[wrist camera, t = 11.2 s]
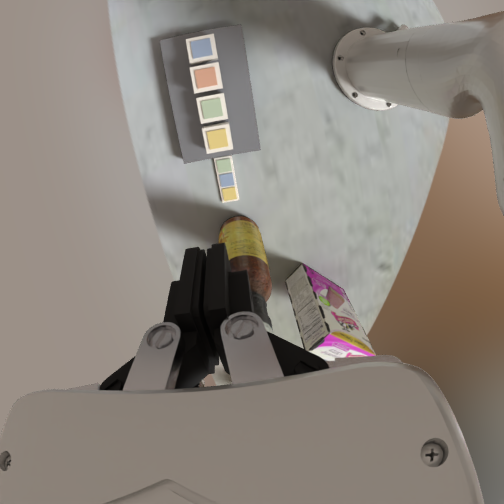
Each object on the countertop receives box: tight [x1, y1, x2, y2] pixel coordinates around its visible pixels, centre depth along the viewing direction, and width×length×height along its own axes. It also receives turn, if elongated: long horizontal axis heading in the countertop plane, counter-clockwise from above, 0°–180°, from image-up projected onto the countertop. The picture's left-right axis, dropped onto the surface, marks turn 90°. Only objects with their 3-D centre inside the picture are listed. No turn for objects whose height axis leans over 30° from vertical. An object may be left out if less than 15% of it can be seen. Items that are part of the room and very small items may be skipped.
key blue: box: [186, 34, 218, 65], centre depth 28 cm, size 3×3×4 cm
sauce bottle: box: [219, 216, 272, 333], centre depth 36 cm, size 7×6×20 cm
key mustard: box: [202, 122, 233, 154], centre depth 34 cm, size 3×3×4 cm
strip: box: [214, 155, 239, 203], centre depth 40 cm, size 7×2×1 cm, turn 8°
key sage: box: [196, 93, 228, 124], centre depth 32 cm, size 3×3×4 cm
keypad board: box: [160, 25, 261, 164], centre depth 32 cm, size 17×10×2 cm, turn 8°
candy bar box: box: [285, 263, 375, 361], centre depth 44 cm, size 11×5×16 cm, turn 53°
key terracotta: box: [190, 62, 223, 94], centre depth 29 cm, size 3×3×4 cm
